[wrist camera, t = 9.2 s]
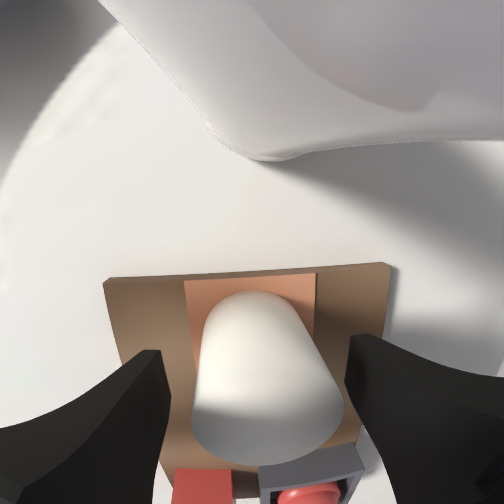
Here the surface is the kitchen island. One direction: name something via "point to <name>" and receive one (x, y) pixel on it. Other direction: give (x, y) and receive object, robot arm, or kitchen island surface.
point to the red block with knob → (203, 486)
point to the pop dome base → (313, 473)
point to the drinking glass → (329, 69)
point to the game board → (192, 325)
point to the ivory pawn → (261, 384)
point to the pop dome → (310, 494)
